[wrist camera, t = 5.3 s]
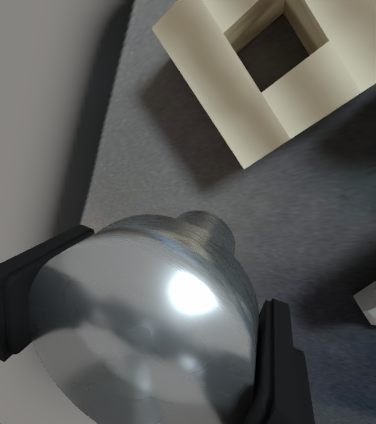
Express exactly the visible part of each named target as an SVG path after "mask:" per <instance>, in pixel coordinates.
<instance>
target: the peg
mask: <svg viewBox="0 0 376 424" xmlns="http://www.w3.org/2000/svg"><path fill="white" fill-rule="evenodd" d="M234 254H235V240H234V237H233V234H232V232H231V230H230V228H229V227H228V226H227V224H226V223H225V222H224V221H223V220H221V219H220V218H219V217H217V216H216V215H214V214H212V213H209V212H206V211H198V210H195V211H189V212H186V213H183V214H181V215H180V216H178V217H177V218H172V217H167V216H162V215H149V214H146V215H135V216H130V217H126V218H123V219H120V220H118V221H116V222H113V223H112V224H110V225H108V226H107V227H105V228H103V229H101V230H100V231H98V232H96V233H94V234H93V235H91V236H89V237H87V238H86V239H84V240H82V241H81V242H79V243H77V244H75V245H74V246H72V247H70V248H68V249H67V250H65V251H63V252H61V253H60V254H58V255H57V256H55V257H53V258H52V259H50V260H49V261H48V262H47V263H46V264H45V265H44V266H43V267H42V268H41V269H40V271H39V272H38V274H37V275H36V277H35V279H34V281H33V283H32V285H31V289H30V292H29V329H30V333H31V337H32V340H33V343H34V345H35V348H36V351H37V353H38V355H39V357H40V359H41V361H42V363H43V365H44V367H45V368H46V370H47V371H48V373H49V374H50V376H51V377H52V379H53V380H54V382H55V383H56V384H57V386H58V387H59V388H60V389H61V390H62V392H64V394H65V395H66V396H67V397H68V398H69V399H70V400H71V401H72V402H73V403H74V404H75V405H76V406H77V407H78V408H79V409H80V410H81V411H82V412H84V413H85V414H86V415H87V416H89V417H90V418H91V419H93V420H94V421H95V422H96V423H98V424H242V423H243V421H244V419H245V417H246V415H247V413H248V411H249V409H250V407H251V405H252V402H253V397H254V383H255V369H256V355H257V340H258V326H259V311H258V303H257V299H256V295H255V292H254V289H253V287H252V284H251V282H250V280H249V278H248V276H247V274H246V273H245V271H244V269H243V267H242V266H241V265H240V263H239V262H238V261H237V260H236V258H235V257H234Z"/></svg>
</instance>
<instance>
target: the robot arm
mask: <svg viewBox="0 0 376 424" xmlns="http://www.w3.org/2000/svg"><path fill="white" fill-rule="evenodd" d="M93 234H94V230H93V229H91V228H89V227H86V226H83V225H78V226H76V227H74V228H72V229H69V230H67V231H65V232H63V233H61V234H59V235H57V236H55V237H53V238H51V239H49V240H47V241H45V242H43V243H41V244H39V245H37V246H35V247H33V248H31V249H29V250H27V251H25V252H23V253H21V254H19V255H17V256H15V257H13V258H11V259H9V260H6V261H5V262H2V263H0V360H1V361H3V362H4V361H6V360H7V359H8V358H9V357H10V356H11V355H13V354H17V353H19V352H21V351H22V350H23V349H24V348H25V347H26V346H28V345H29V344H30V343H31V342H32V341H33V340H32V337H31V333H30V329H29V292H30V289H31V285H32V283H33V281H34V279H35V277H36V275H37V274H38V272H39V271H40V269H41V268H42V267H43V266H44V265H45V264H46V263H47V262H48V261H49V260H50V259H52V258H53V257H55V256H57V255H58V254H60V253H61V252H63V251H65V250H67V249H68V248H70V247H72V246H74V245H75V244H77V243H79V242H81V241H82V240H84V239H86V238H87V237H89V236H91V235H93ZM242 424H315V422H314V415H313V408H312V401H311V395H310V388H309V381H308V374H307V367H306V361H305V355H304V353H303V351H301V350H299V349H296V348H294V347H293V339H292V329H291V319H290V309H289V305H288V304H286V303H284V302H281V301H278V300H276V299H272V300H271V302H270V301H267V300H266V301H265V303H264V305H263V307H262V309H261V312H260V314H259V326H258V340H257V355H256V369H255V383H254V397H253V402H252V405H251V407H250V409H249V411H248V413H247V415H246V417H245V419H244V421H243V423H242Z"/></svg>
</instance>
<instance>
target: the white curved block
mask: <svg viewBox="0 0 376 424" xmlns="http://www.w3.org/2000/svg"><path fill="white" fill-rule="evenodd" d="M353 297H354V299H355V300H356V302H357V304H358V305H359V307H360V308H361V310H362V312H363V313H364V315H365V316H366V318H367V319H368V321H369V322H370V324H372V325H376V281H374V282H373V283H371V284H370V285H368V286H367V287H365V288H364V289H362V290H361V291H359V292H358V293H356V294H355V295H353Z"/></svg>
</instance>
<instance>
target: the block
mask: <svg viewBox="0 0 376 424" xmlns="http://www.w3.org/2000/svg"><path fill="white" fill-rule="evenodd" d="M283 13H284V15H285V17H286V18H287V20H288V22H289V23H290V25H291V26H292V28H293V30H294V31H295V33H296V35H297V36H298V38H299V39H300V41H301V43H302V44H303V46H304V47H305V49H306V51H307V52H308V54H309V57H307V58H306V59H305V60H303V61H302V62H301V63H300V64H298V65H297V66H296V67H294V68H293V69H292V70H290V71H289V72H288V73H287V74H285V75H284V76H283V77H281V78H280V79H279V80H277V81H276V82H275V83H274V84H272V85H271V86H270V87H268V88H267V89H266V90H264V91H263V92H262V93H261V92H260V90H259V89H258V87H257V86H256V84H255V82H254V81H253V79H252V78H251V76H250V75H249V73H248V71H247V70H246V68H245V67H244V65H243V64H242V62H241V60H240V59H239V57H238V56H237V53H238V52H239V51H240V50H241V49H242V48H244V47H245V46H246V45H247V44H248V43H249V42H250V41H252V40H253V39H254V38H255V37H256V36H257V35H258V34H260V33H261V32H262V31H263V30H264V29H265V28H267V27H268V26H269V25H270V24H271V23H272V22H273V21H275V20H276V19H277V18H278V17H279V16H280V15H281V14H283ZM152 30H153V31H154V33H155V34H156V36H157V37H158V39H159V40H160V42H161V43H162V45H163V47H164V48H165V50H166V51H167V53H168V54H169V56H170V57H171V59H172V60H173V62H174V63H175V65H176V66H177V68H178V69H179V71H180V72H181V74H182V76H183V77H184V79H185V80H186V82H187V83H188V85H189V86H190V88H191V89H192V91H193V92H194V94H195V95H196V97H197V98H198V100H199V101H200V103H201V104H202V106H203V108H204V109H205V111H206V112H207V114H208V115H209V117H210V118H211V120H212V121H213V123H214V124H215V126H216V127H217V129H218V130H219V132H220V133H221V135H222V137H223V138H224V140H225V141H226V143H227V144H228V146H229V147H230V149H231V150H232V152H233V153H234V155H235V156H236V158H237V159H238V161H239V162H240V164H241V165H242V167H243V169H246V168H247V167H249V166H250V165H252V164H253V163H255V162H256V161H258V160H259V159H261V158H262V157H264V156H265V155H267V154H268V153H270V152H272V151H273V150H275V149H276V148H278V147H279V146H281V145H282V144H284V143H285V142H287V141H288V140H290V139H291V138H293V137H294V136H296V135H297V134H299V133H301V132H302V131H304V130H305V129H307V128H308V127H310V126H311V125H313V124H314V123H316V122H317V121H319V120H320V119H322V118H323V117H325V116H326V115H328V114H330V113H331V112H333V111H334V110H336V109H337V108H339V107H340V106H342V105H343V104H345V103H346V102H348V101H349V100H351V99H352V98H354V97H355V96H357V95H359V94H360V93H362V92H363V91H365V90H366V89H368V88H369V87H371V86H372V85H374V84H375V83H376V0H177V1H176V3H175V4H174V5H173V6H172V7H171V8H170V9H169V10H168V11H167V12H166V13H165V14H164V15H163V17H162V18H161V19H160V20H159V21H158V22H157V23H156V24H155V25H154V26H153V27H152Z"/></svg>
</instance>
